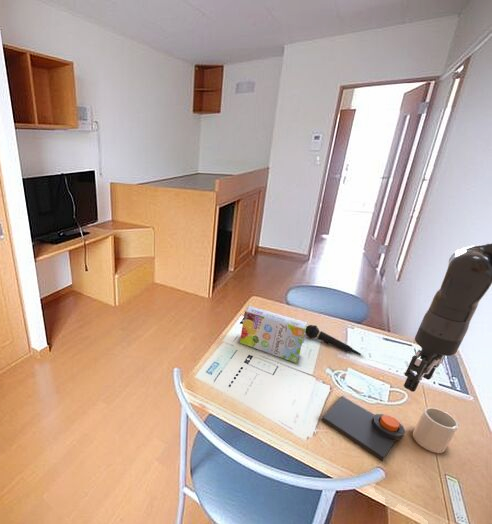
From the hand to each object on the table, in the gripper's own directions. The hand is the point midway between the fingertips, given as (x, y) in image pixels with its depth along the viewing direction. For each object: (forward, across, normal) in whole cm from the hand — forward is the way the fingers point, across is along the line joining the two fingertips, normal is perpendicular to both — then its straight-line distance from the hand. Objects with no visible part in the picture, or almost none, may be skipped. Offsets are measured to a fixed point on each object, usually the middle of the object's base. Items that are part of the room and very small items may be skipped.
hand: (417, 383), depth 78 cm
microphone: (+18, +22, +32) cm, 43 cm away
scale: (+18, -6, +6) cm, 20 cm away
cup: (+18, +5, -6) cm, 20 cm away
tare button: (+16, -2, +1) cm, 16 cm away
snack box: (+19, -1, +42) cm, 46 cm away
